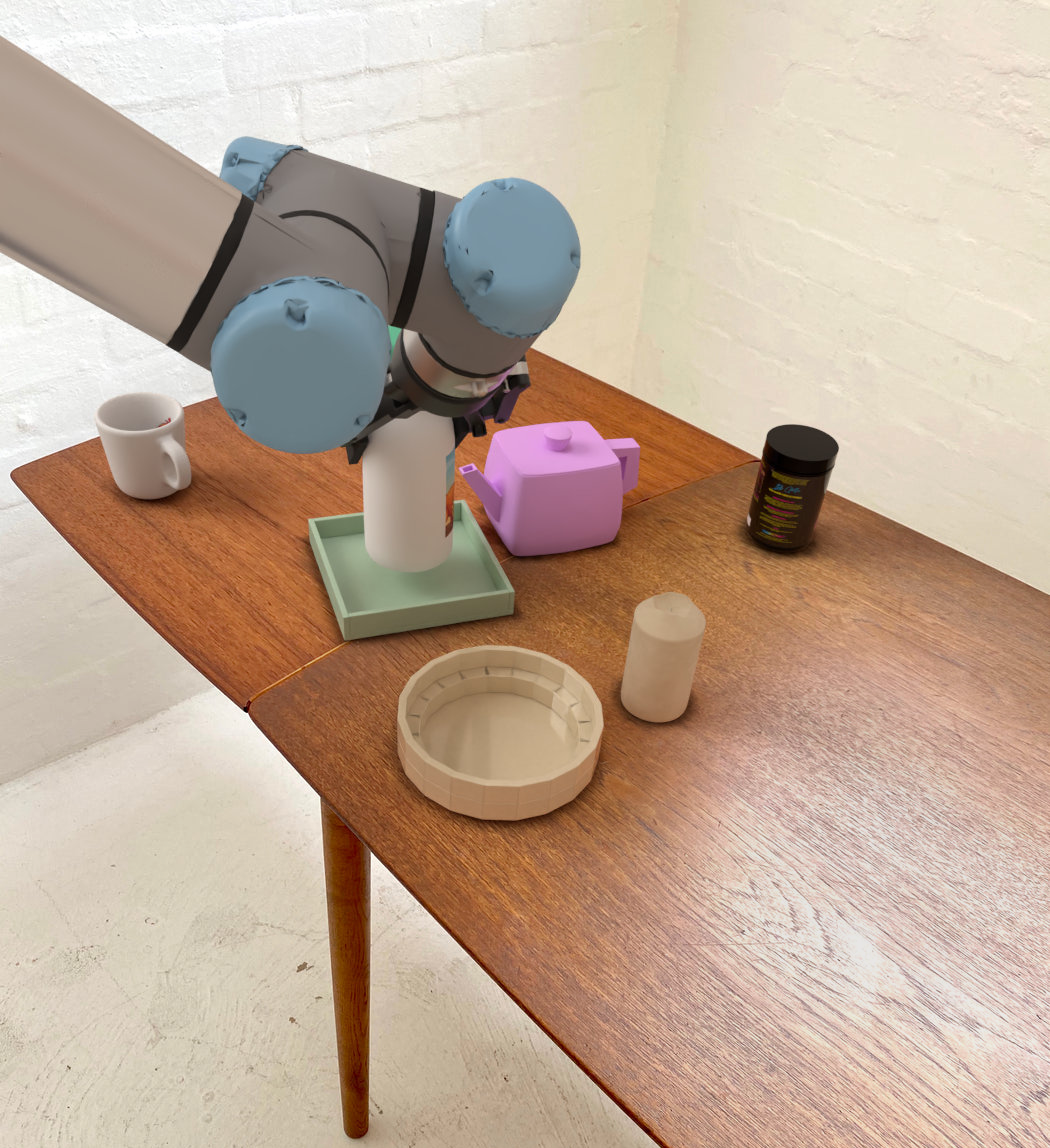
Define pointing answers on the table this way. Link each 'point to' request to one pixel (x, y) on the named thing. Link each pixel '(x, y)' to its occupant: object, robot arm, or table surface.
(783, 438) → the supplement container
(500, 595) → the tray
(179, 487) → the cup
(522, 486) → the teapot
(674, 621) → the candle
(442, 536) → the milk bottle
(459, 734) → the bowl
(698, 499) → the table surface
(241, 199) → the robot arm
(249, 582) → the table surface
